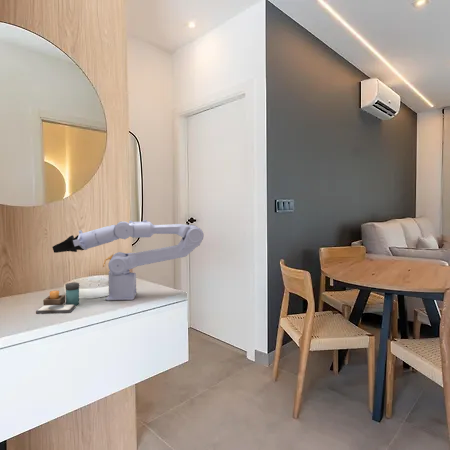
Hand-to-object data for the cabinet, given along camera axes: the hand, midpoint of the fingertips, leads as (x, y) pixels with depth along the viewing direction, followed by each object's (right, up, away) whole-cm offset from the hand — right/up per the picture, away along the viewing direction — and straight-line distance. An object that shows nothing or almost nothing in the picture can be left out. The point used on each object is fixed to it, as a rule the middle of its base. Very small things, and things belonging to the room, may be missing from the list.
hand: (57, 249), depth 111 cm
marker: (+7, -18, -2) cm, 20 cm away
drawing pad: (+4, -19, -8) cm, 21 cm away
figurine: (+11, -16, +25) cm, 32 cm away
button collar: (+1, -18, -3) cm, 19 cm away
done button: (+1, -17, -3) cm, 17 cm away
